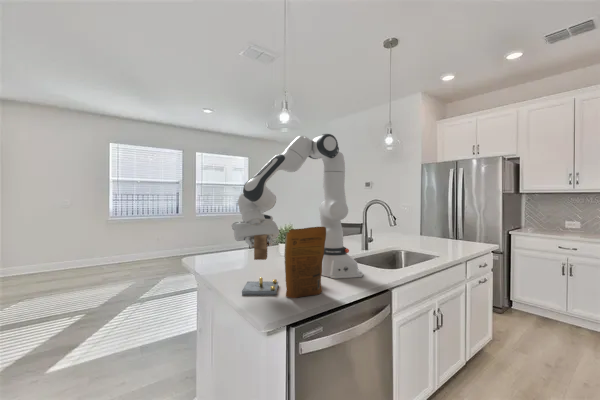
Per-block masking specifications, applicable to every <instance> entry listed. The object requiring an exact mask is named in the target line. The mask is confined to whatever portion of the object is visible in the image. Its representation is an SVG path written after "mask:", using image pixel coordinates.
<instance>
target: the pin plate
mask: <svg viewBox="0 0 600 400" xmlns="http://www.w3.org/2000/svg"><path fill="white" fill-rule="evenodd" d="M263 280H264V279H263V277H259V281H247V282H246V283H245V285H244V286H243V288H242V289H241V295H242V296H277V294H278V288H279V281H278V280H277V279H276V278H274V279H272V281H263Z"/></svg>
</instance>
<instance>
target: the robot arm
mask: <svg viewBox="0 0 600 400" xmlns="http://www.w3.org/2000/svg"><path fill="white" fill-rule="evenodd" d="M339 150H340V147H339V143H338V140H337V138H336V137H335V136H334V135H333V134H331V133H323V134H322V135H318V136H315V137H314V138H312V139H310V138H309V137H308V136H305V135H298V136H297V137H295V138H294V140H292V141H291V142H290V143H289V145H288V146H287V147H286V148H285V150H284V151H283V152H281V153H279V154H276V155H273V157H272V158H271V159H269V161H268V162H266V164H265V165H264V166H262V168H261V169H260V170H259V171H258V172H257V173H256V174H254V176H252V177H251V178H250V179H249V180H247V181H246V182H245V183H244V185H243V188H242V193H241V194H240V195H239V196H238V199H237V202H238V203H237V204H238V208H239V212H240V213H239V214H241V219H242V221H234V223H232V224H231V227H232V230H233V235H234V237H233V238H234V240H235V241H237V242H244V241H245V244H247V245H248V246H249V248H250V249H253V248H254V236H255V235H263V234H267V247H272V246H273V241H272V240H273V239H277V238H278V237H279V235H280V229H279V227H278V225H277V223H276V221H274V217H273V216H272V215H268V214H265V212H268V211H271V209H273V208H274V206H275V205H276V203H277V197H276V195H275V194H274V192H272V191H271V189H269V188H268V187H267V185H266V184H267V183H268V181H269V180H270V179H271V178H272V177H273V176H274V175H275V174H276V173H277V172H278V171H284V172H287V173H294V172H298V171H299V170H300V168H302V166H303V164H305V162H306V160H307V159H308V158H310V159H312V160H319V159H321V160H322V163H323V173H322V174H323V178H322V181H323V182H322V188H323V193H324V200H323V201H321V203H320V204H319V207H318V210H319V217H320V218H319V219H320V227H326V240H325V248H324V256H323V261H322V274H321V276H323V277H328V278H331V279H349V278H352V279H353V278H362V277H363V275H364V274H363V271H362V270H361V269H359V266H358V262H357V261H356V260H355V259H354V258H353V257H351V255H349V254H348V253H350V249H349V248H347V247H346V246H344V229H343V226H342V220H344V219H346V217H347V216H348V214H349V207H348V204H347V199H346V198H347V196H346V190H345V179H346V178H345V177H346V175H345V174H346V165H345V164H346V163H345V156H344V154H343V153H342V152H340V151H339ZM252 240H253V242H252Z"/></svg>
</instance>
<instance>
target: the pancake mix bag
mask: <svg viewBox="0 0 600 400" xmlns="http://www.w3.org/2000/svg"><path fill="white" fill-rule="evenodd" d="M325 240H326V227H321V226H312V227H304V228H292V229H288V232H285V239H284V241H285V243H284V271H285V272H284V273H285V288H286V291H285V297H286V298H290V299H298V298H305V297H310V296H318V295H321V294H322V292H323V288H322V275H321V274H322V261H323V256H324V248H325Z"/></svg>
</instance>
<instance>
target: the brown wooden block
mask: <svg viewBox="0 0 600 400" xmlns="http://www.w3.org/2000/svg"><path fill="white" fill-rule="evenodd" d="M253 242H254V249H253V259H254V261H256V260H257V261H262V260H263V261H265V260H267V259H268V244H267V242H268V239H267V234H263V235H255V236H254V240H253Z"/></svg>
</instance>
